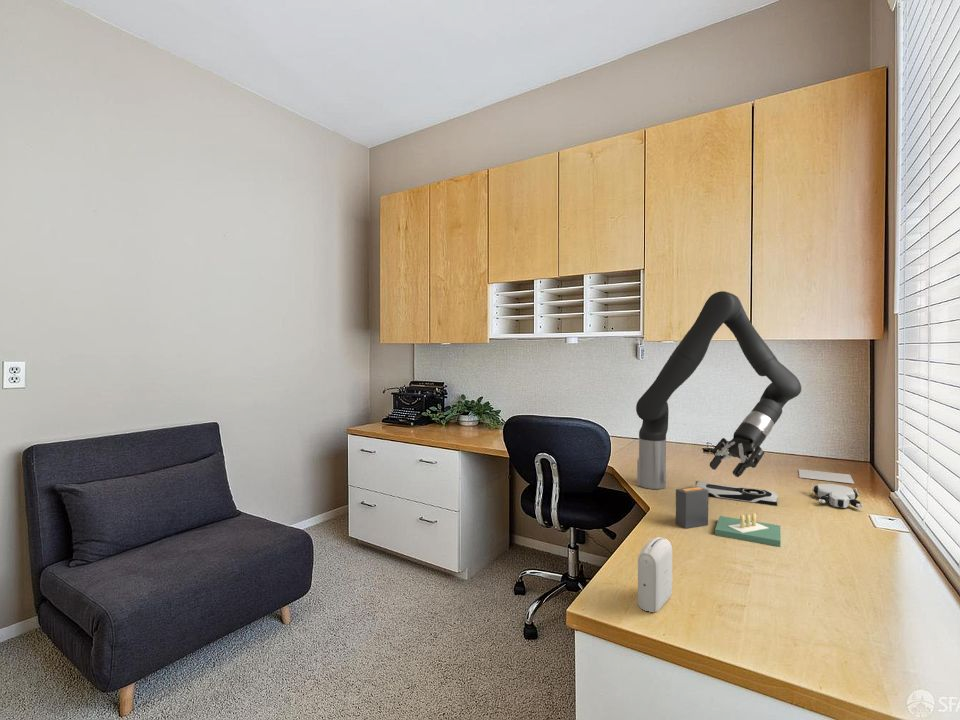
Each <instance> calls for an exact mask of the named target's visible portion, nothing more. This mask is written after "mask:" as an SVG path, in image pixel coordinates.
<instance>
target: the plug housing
mask: <svg viewBox="0 0 960 720" xmlns="http://www.w3.org/2000/svg"><path fill="white" fill-rule="evenodd" d="M675 524H676V525H677V526H679V527H681V528H684V529H686V530H687V529H691V528H692V529H693V528H699V527H705V526H708V525H709V497H708V490H706V489H703V488H701V487H698V486H697V487H696V486H689V487H685V488H684V487H683V488H676V489H675Z"/></svg>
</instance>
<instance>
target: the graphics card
mask: <svg viewBox="0 0 960 720" xmlns="http://www.w3.org/2000/svg"><path fill="white" fill-rule="evenodd" d="M697 486H698V487H701V488H703V489H706V490H708V498H714V499H720V500H728V501H736V502H744V503H749V504H760V505H766V506H773V507H777V506H778V501H777V499H778V498H779V496H778V493H777V492H776V491H773V490H765V489H758V488H749V487H741V486H740V487H739V486H732V485H726V484H725V485H724V484H717V483H712V482H707V481H700V480H695V487H697Z"/></svg>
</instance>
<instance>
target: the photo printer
mask: <svg viewBox="0 0 960 720" xmlns="http://www.w3.org/2000/svg"><path fill="white" fill-rule="evenodd" d="M672 590H673V546H672V544H671V542H670V541H669V540H668V539H667V538H663V537H662V536H659V537H658V536H657V537H653V538H652V539H650V540H649V541H648V542H647V543H645V545H644V546H643V547H642V549H640V552H639V554H638V557H637V605H638V607H639V608H640V609H641V610H642V609H643V610H642V611H644V610H645V611H644V612H646V611H649V612H648V613H650V612H654V613H657V612H659V610H660V609H661V608H662V607H664V605H665V604H666V602H668V599H670V597H671V596H672V592H673V591H672Z"/></svg>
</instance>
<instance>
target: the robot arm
mask: <svg viewBox="0 0 960 720" xmlns="http://www.w3.org/2000/svg"><path fill="white" fill-rule="evenodd" d="M723 324H724V325H725V326H726V327H727V328H728V329H729V331H730V332H731V333H732V334H733V336H734V337H735V339H736V341H737V342H738V345H739V347H740V349H741V351H742V352H741V353H743V355H744V357H745V358H746V360H747V361H748V363H749V364H750V366H751V368H752V369H753V370H754V371H755V373H756V374H757V375H758V376H759V377H767V379H768V380H770V383H769V384H768V385H767V387H765V389H764V391H763V392H762V395H761V396H760V398H759V401H758V402H757V403H756V404H755V406H754V407H753V409H752V410H751V411H750V413H748V414H747V415H746V416H745V417H744V419H743V420H742V422H741V423H740V424H739V426H738V427H737V428H736V430H735V431H734V432H733V437H732V439H731V440H727V439H726V438H725V437H722V438H721V439H720V440H719V442H718V443H717V444H716V445H715V447H713V449H712V451H711V453H712V454H713V455H714V457H713V458H712V459H711V461H710V462H709V468H711V469H712V470H716V469H717V468H718V467H719V466H720V464H721V463H722V461H724V460H726V459H730V458H738V459H739V460H740V462H738V464H737V465H736V466H735V467H734V469H733V471H732V474H733V476H734V477H736V478H739V477H741V476H742V475H743V474H744V472H745V471H746V470H747V469H748V468H752V469H754V468H756V467H757V466H758V464H759V463H760V461H761V459H762V458H763V457H764V455H765V451H764V450H763V449H762V447H761V445H762V444H763V443H764V441H765V440H766V438H767V437H768V435H769V434H770V433H771V432H772V430H773V427H774V426H775V424H777V421H778V420H779V419H780V418H781V417H782V416H781V415H782V414H783V408H784V406H785V405H786V404H787V403H789V401H791V400H793V399H795V398H796V397H798V396H799V395H800V394H801V393H802V384H801V382H800V380H799V379H798V377H797V376H796V375H795V374H794V372H792V371H791V370H790V369H788V367H786V366H785V365H784V364H782V363H781V362H780V361H779V360H778V358H777V356H776V355H775V354H774V352H773V351H772V350H771V348H770V347H769V346H768V344H767V343H766V342H765V341H764V339H763V338H762V337H761V335H760V334H759V332H758V331H757V329H755V327H754V325H753V324H752V323H751V321H750V319H749V317H748V315H747V312H746V311H745V309H744V307H743V304H742V303H741V301H740V298H739V297H738V296H737V295H735V294H733V293H731V292H728V291H725V290H724V291H723V290H720V291H716V292H714V293H712V294H711V295H710V296H709V297H708V298H707V300H706V301H705V303H704V305H703V307H702V309H701V311H700V312H699V314H698V316H697V318H696V320H695V321H694V323H693V325H692V326H691V327H690V328H689V330H688V331H687V332H686V334H685V335H684V336H683V338H682V339H681V340H680V342H679V344H677V346H676V348H675V349H674V350H673V352H672V353H671V355H670V356H669V358H668V359H667V361H666V362H665V364H664V366H663V367H662V369H661V370H660V372H658V373H659V374H658V375H657V376H656V378H655V380H654V382H652V384H651V385H649V387H648V389H647V390H646V391H645V392H644V393H643V394H642V395H641V397H640V398H639V399H638V400H637V401H636V405H635V406H636V407H635V413H636V414H637V416H638V418H639V419H641V420H642V424H641V427H640V428H639V431H638V459H637V461H636V462H637V465H636V466H637V469H636V470H637V471H636V472H637V473H636V474H637V479H636V480H637V487H641V488H645V489H650V490H651V489H652V490H661V489H662V490H663V489H665V488H666V486H667V433H668V429H669V404H668V400H669V399H670V397H671V396H672V394H673V393H674V392H675V391H677V389H678V388H679V387H681V386H682V385H683V384H684V383H685V382H686V381H687V380H688V379H689V378H691V376H692V375H693V374H694V373H695V371H696V370H697V368H698V367H699V366H700V364H701V363H702V361H703V360H704V358H705V356H706V354H707V352H708V349H709V346H710V343H711V341H712V339H713V337H714V335H715V334H716V333H717V331H718V330H719V329H720V327H721V326H723ZM727 451H728V452H727Z"/></svg>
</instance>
